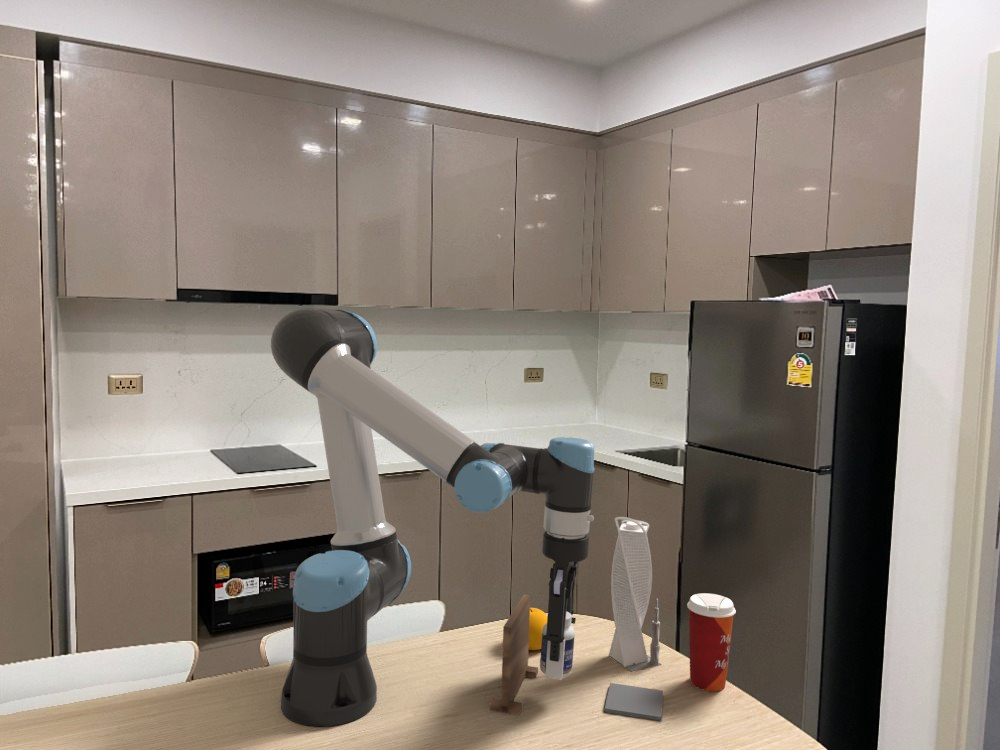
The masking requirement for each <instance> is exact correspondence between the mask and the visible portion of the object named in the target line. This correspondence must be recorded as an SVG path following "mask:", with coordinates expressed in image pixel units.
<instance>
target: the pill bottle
mask: <svg viewBox="0 0 1000 750" xmlns="http://www.w3.org/2000/svg"><path fill="white" fill-rule="evenodd" d="M547 618H548V617H547ZM572 618H573V615H571V614H570V613H569V612H567V611H566V621H565V630H564V639H565V649H564V663H563V678H567V677H568V676H570V675H571V674H572V670H573V661H574V647H575V646H574V645H575V635H576V634H575V633H576V632H575V629H574V627H573V626H572V623H571V620H572ZM570 625H571V626H570ZM546 632H547V624H545V625H544V627H543V630H542V643H541V649H540V657H539V669H540V672H541V673H542V674H543V675H546V659H547V644H548V641H547V640H546V639H543V636H544V635H546Z"/></svg>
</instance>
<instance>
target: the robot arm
mask: <svg viewBox="0 0 1000 750" xmlns="http://www.w3.org/2000/svg"><path fill="white" fill-rule="evenodd" d="M377 341H378V340H377V336H376V333H375V331H374V329H373V328H372V325H370V323H369V322H368V321H367V320H366V319H365V318H364V317H362V316H360V315H359V314H357V313H354V312H352V311H347V310H345V309H327V308H326V309H323V308H320V309H319V308H312V307H311V308H310V307H309V308H307V307H306V308H305V307H303V308H299V309H298V308H297V309H294V310H292V311H290V312H288V313H287V314H285V315H283V317H281V318H280V319H279V321H278V322H277V323H276V324H275V326H274V329H273V330H272V333H271V338H270V349H271V354H272V356H273V359H274V361H275V362H276V363H275V364H276V365H277V367H279V369H280V370H281V371H282V372H283V373H284V374H285V375H286V376H288V378H290V379H291V380H292V381H294V382H295V383H296V384H297V385H299V386H301V387H302V388H303V389H304V390H306V391H307V392H309V393H310V394H312V395H313V396H315V398H316V399H317V404H318V412H319V418H320V424H321V430H322V437H323V444H324V450H325V456H326V457H325V458H326V463H327V469H328V476H329V482H330V489H331V495H332V502H333V507H334V514H335V520H336V528H337V530H336V533H335V534H333V537H332V538H331V539H330V547H331V550H328V551H327V550H326V551H325V552H324V553H316V554H313V555H311V556H310V557H308V558H306V559H305V560H304V561H302V562H301V563H300V564H299V566H298V567H297V568H296V571H295V573H294V584H293V587H292V597H293V626H292V627H293V630H292V631H293V636H292V637H293V641H292V642H293V644H292V645H293V649H292V650H293V651H292V652H293V654H292V660H291V663H290V665H289V669H288V672H287V675H286V678H285V681H284V684H283V687H282V690H281V696H280V698H281V699H280V700H281V701H280V709H281V712H282V714H283V715H284V716H285V717H286V718H287V719H289V720H291V721H293V722H294V723H298V724H301V725H305V726H312V727H328V726H331V727H332V726H336V725H337V726H338V725H343V724H345V723H346V724H347V723H350V722H352V721H353V722H354V721H355V720H358V719H360V718H361V717H362V718H363V716H365V715H366V714H368V713H370V711H372V709H374V707H375V705H376V703H377V695H378V693H377V692H378V691H377V690H378V688H377V686H378V685H377V682H376V679H375V675H374V672H373V669H372V666H371V662H370V660H369V656H368V653H367V649H368V648H367V646H368V622H369V620H370V619H372V618H374V616H375V615H376V614H378V613H379V612H380V611H381V610H383V609H384V608H385V607H386V606H389V605H390V604H391V603H393V602H394V601H395V600H396V599H398V597H399V596H400V595H401V594H402V592H404V590H405V589H406V587H407V586H408V584H409V582H410V578H411V574H412V561H411V556H410V554H409V551H408V549H407V547H406V546H405V545H403V544H402V543H401V542H400V540H399V539H398V536H397V531H396V527H394V526H393V525H392V524H391V523H389V522H388V521H387V519H386V515H385V509H384V501H383V495H382V489H381V482H380V477H379V475H380V474H379V471H378V469H379V468H378V462H377V456H376V450H375V449H376V448H375V444H374V436H373V431H374V432H375V433H377V434H379V435H380V436H381V437H383V438H384V439H385V440H387V441H388V442H389V443H391V444H392V445H394V446H396V448H398V449H399V450H401V451H402V452H404V453H405V454H407V456H409V457H411V459H413V460H415V461H416V462H418V463H419V464H420V465H422V467H425V468H426V469H428V470H429V471H430V472H431V473H433V474H434V475H435V476H437V477H438V478H440V479H441V480H442V481H444V482H445V483H447V484H448V485H449V486H451V487H452V488H453V489H454V493H455V496H456V498H457V500H458V501H459V503H460V504H461V506H463V507H464V508H465V509H467V510H468V511H470V512H473V513H479V514H481V513H488V512H490V511H492V510H496V509H497V508H499V507H502V506H503V505H504V503H506V502H507V501H508V500H509V499H510V498H511V497H512V496H514V495H515V494H516V493H517V492H519V493H520V492H521V493H528V494H537V495H545V504H544V513H543V515H544V516H543V529H544V530H545V532H543V534H542V535H543V536H542V547H541V548H542V550H541V553H542V554H543V556H544V557H545V558H547V559H548V560H549V559H550V560H552V561H553V562H554V563H553V564H552V567H550V570H549V578H550V580H549V582H548V605H547V606H548V607H547V616H548V618H547V632H546V635H544V636H543V639H546V640H547V641H548V644H547V659H546V675H545V674H544V675H545V676H544V677H545V678H548V679H552V680H553V679H554V680H559V681H562V680H563V678H564V677H563V663H564V649H565V639H564V630H565V621H566V611H567V612H569V613H570V614H571V615H572V616H573V614H574V612H575V611H574V603H575V600H574V599H575V586H576V577H577V573H578V565H577V564H578V562H583V561H584V560H586V559H587V558H588V556H589V545H590V537H589V536H588V533H589V532H590V526H591V525H590V523H591V522H594V520H595V517H594V515H591V514H590V513H591V511H592V510H591V509H592V499H593V489H594V487H593V485H594V474H595V466H594V465H595V447H594V445H593V443H592V442H591V441H589V440H587V439H583V438H578V437H565V436H564V437H563V436H562V437H561V436H560V437H559V436H558V437H553V438H551V439H550V441H549V444H548V446H547V447H545V448H541V447H540V448H539V447H531V446H521V445H515V444H514V445H513V444H506V443H504V442H498V443H495V442H494V443H493V442H485V443H482V444H481V445H480V444H478V443H477V442H476V441H475V440H473V439H472V438H470V437H469V436H467V435H466V434H465V433H463V432H462V431H460V430H459V429H458V428H456V427H455V426H453V425H452V424H450V423H449V422H448V421H446V420H444V419H443V418H442V417H441V416H439V415H437V414H436V413H435V412H433V411H432V410H430V409H428V407H426V406H425V405H423V404H422V403H420V402H419V401H417V400H415V399H414V398H413V397H412V396H410V395H408V394H407V393H405V391H403V390H401V389H400V388H399V387H398V386H397V385H394V384H393V383H391V381H389V380H388V379H386V378H384V377H383V376H381V375H380V374H379V373H377V372H375V371H374V369H372V367H371V365H372V363H373V361H374V360H375V357H377V356H376V355H377V352H378V342H377ZM572 624H573V625H574V624H576V617H572V620H571V625H570V626H572Z"/></svg>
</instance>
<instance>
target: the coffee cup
mask: <svg viewBox="0 0 1000 750" xmlns="http://www.w3.org/2000/svg"><path fill="white" fill-rule="evenodd" d="M686 607H687V608H688V621H689V622H688V625H689V627H688V632H689V634H688V635H689V638H688V639H689V641H688V642H689V643H688V644H689V647H688V648H689V679H690V683H691V685H692V686H693V687H695V688H697V689H700V690H701V691H707V692H720V691H722V690H724V689H725V687H726V682H727V674H728V667H729V656H730V650H731V640H732V632H733V631H732V630H733V622H734V615H735V614H736V608H735V606H734V603H733V601H732V600H731V599H730V598H728V597H726V596H723V595H720V594H715V593H705V592H704V593H702V592H701V593H695V594H693V595H692V596H690V598H689V601H688V602H687V604H686Z"/></svg>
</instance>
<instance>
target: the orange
mask: <svg viewBox="0 0 1000 750" xmlns="http://www.w3.org/2000/svg"><path fill="white" fill-rule="evenodd" d="M547 617H548V614H546V613H545V612H544V611H543V610H541V609H539V608H536V607H530V618H529V648H528V651H537V650H541V643H542V630H543V627H544V625H545V624H547Z"/></svg>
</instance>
